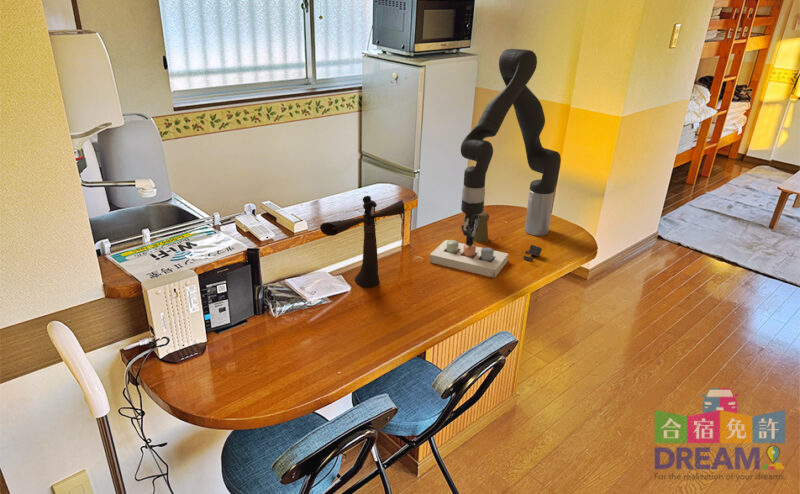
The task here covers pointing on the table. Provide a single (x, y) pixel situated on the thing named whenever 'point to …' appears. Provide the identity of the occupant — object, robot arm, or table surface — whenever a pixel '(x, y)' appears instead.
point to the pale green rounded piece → (452, 246)
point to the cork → (482, 228)
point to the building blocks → (533, 252)
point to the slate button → (487, 254)
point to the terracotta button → (469, 251)
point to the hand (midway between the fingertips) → (469, 244)
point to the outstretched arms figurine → (365, 237)
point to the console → (469, 260)
